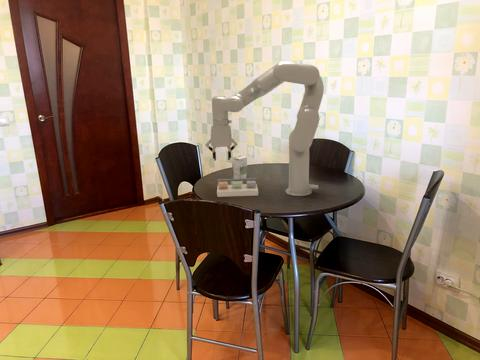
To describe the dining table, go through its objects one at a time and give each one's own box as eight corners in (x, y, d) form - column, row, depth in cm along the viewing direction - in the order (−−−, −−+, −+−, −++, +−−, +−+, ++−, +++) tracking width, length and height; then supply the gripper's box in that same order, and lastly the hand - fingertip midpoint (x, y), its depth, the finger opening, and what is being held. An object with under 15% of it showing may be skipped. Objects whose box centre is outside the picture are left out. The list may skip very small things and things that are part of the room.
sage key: (241, 183, 190) (241, 181, 189) (242, 186, 185) (241, 183, 185) (232, 184, 190) (232, 181, 189) (232, 186, 185) (232, 183, 185)
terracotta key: (227, 184, 190) (227, 181, 189) (227, 186, 185) (227, 184, 185) (218, 184, 189) (218, 181, 189) (218, 187, 185) (218, 184, 185)
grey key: (255, 183, 190) (255, 180, 190) (256, 186, 186) (256, 183, 185) (246, 183, 190) (246, 180, 189) (246, 186, 185) (246, 183, 185)
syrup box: (240, 180, 210) (239, 155, 206) (247, 182, 206) (247, 156, 202) (232, 182, 206) (231, 156, 202) (240, 184, 202) (239, 158, 198)
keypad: (256, 187, 196) (255, 178, 195) (258, 195, 183) (258, 185, 182) (217, 188, 196) (217, 179, 195) (217, 196, 182) (216, 186, 181)
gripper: (238, 121, 183) (239, 157, 188) (202, 122, 182) (204, 158, 187) (239, 123, 176) (240, 160, 180) (201, 124, 175) (203, 162, 180)
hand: (222, 159), depth 184 cm, fingers open, 6 cm apart
